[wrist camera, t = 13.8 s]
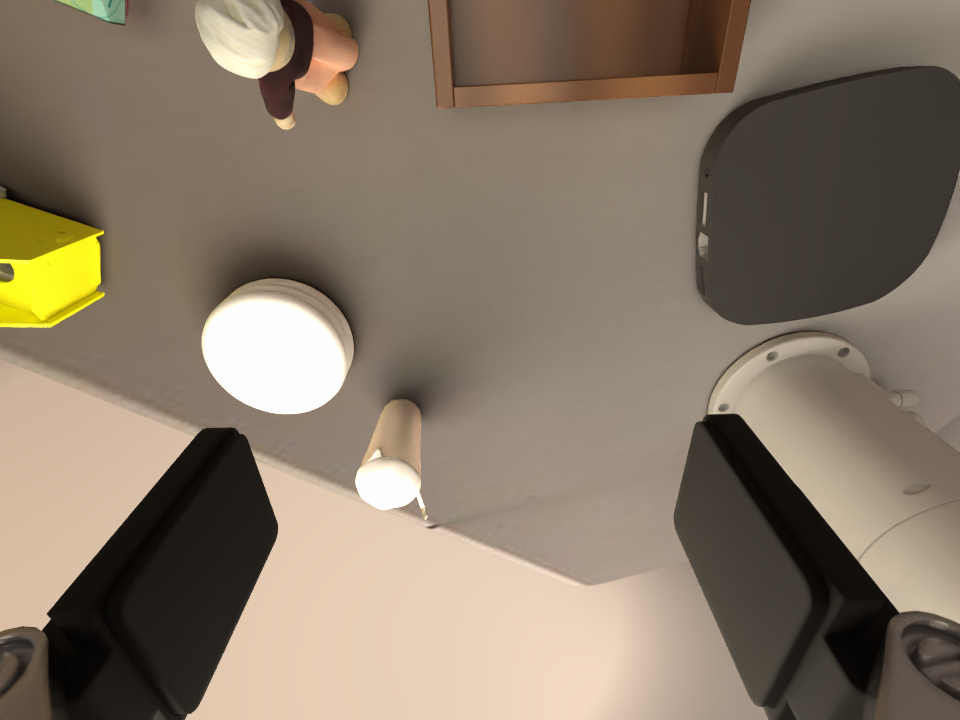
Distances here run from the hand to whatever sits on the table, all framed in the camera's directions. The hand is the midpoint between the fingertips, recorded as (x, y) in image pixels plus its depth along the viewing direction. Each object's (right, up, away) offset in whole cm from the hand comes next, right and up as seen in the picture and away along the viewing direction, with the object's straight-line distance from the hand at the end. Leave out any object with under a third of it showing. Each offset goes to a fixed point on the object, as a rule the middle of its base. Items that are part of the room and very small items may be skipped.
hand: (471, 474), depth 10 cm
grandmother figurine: (-9, +20, +17) cm, 28 cm away
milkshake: (-6, -2, +30) cm, 31 cm away
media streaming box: (+22, +13, +22) cm, 34 cm away
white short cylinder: (-15, +4, +26) cm, 30 cm away
